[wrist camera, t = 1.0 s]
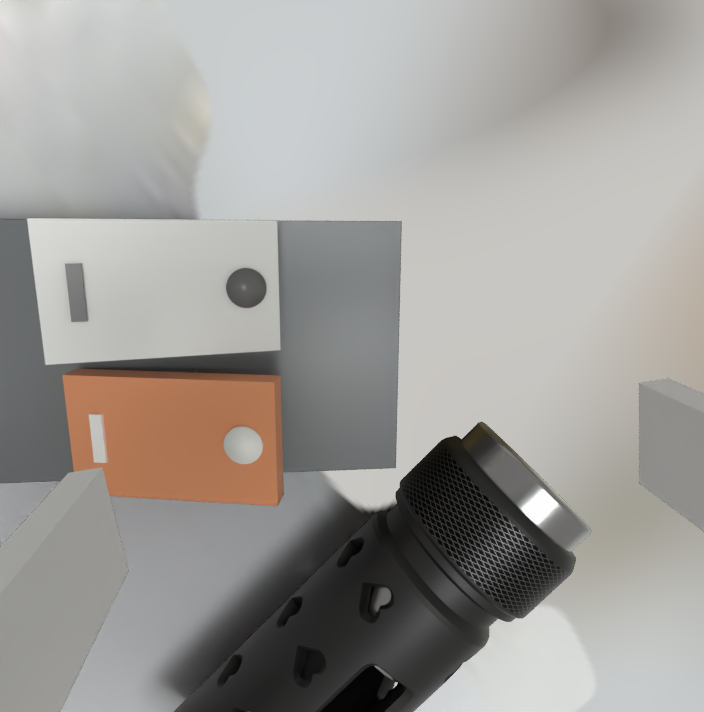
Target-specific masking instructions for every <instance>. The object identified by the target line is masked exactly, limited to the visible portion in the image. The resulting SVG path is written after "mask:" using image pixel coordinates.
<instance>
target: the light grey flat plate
mask: <svg viewBox="0 0 704 712" xmlns="http://www.w3.org/2000/svg"><path fill="white" fill-rule="evenodd" d="M27 223H28V231H29V239H30V247H31V254H32V262H33V270H34V278H35V286H36V294H37V302H38V310H39V318H40V326H41V333H42V341H43V349H44V357H45V365H52V364H68V363H84V362H100V361H116V360H132V359H148V358H164V357H180V356H195V355H211V354H227V353H243V352H259V351H275V350H281V348H280V309H279V270H278V232H277V220H184V219H61V218H27Z"/></svg>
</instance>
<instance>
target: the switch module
mask: <svg viewBox="0 0 704 712" xmlns="http://www.w3.org/2000/svg"><path fill="white" fill-rule="evenodd" d="M401 230H402V222H401V221H277V232H278V270H279V309H280V348H281V350H275V351H259V352H243V353H227V354H211V355H195V356H180V357H164V358H148V359H132V360H116V361H100V362H84V363H68V364H52V365H45V357H44V349H43V341H42V333H41V326H40V318H39V310H38V302H37V294H36V286H35V278H34V270H33V262H32V254H31V247H30V239H29V231H28V223H27V219H0V483H21V482H47V481H61V480H62V479H63V478H64V477H65V476H66V475H67V474H68V473H70V472H74V468H73V460H72V452H71V443H70V435H69V427H68V418H67V410H66V402H65V393H64V385H63V377H62V375H64V374H66V373H68V372H71V371H73V370H76V369H104V370H134V371H164V372H193V373H223V374H253V375H281V410H282V449H283V472H304V471H330V470H354V469H355V470H356V469H382V468H396V435H397V434H396V432H397V394H398V393H397V392H398V391H397V390H398V353H399V312H400V311H399V310H400V271H401V267H400V266H401Z"/></svg>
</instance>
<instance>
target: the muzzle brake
mask: <svg viewBox="0 0 704 712" xmlns="http://www.w3.org/2000/svg"><path fill="white" fill-rule="evenodd" d="M396 500H397V504H396V505H395V506H394V507H393V508H392V509H391V510H390V511H379V512H376V513H375V514H374V515H373V516H372V517H371V518H370V519H369V520H368V521H367V522H366V523H365V524H364V525H363V526H362V527H361V528H360V529H359V530H358V531H357V532H356V533H355V534H354V535H352V536H351V537H350V538H349V539H348V540H347V541H346V542H345V543H344V544H343V545H342V546H341V547H340V548H339V549H338V550H337V551H336V552H335V553H334V554H333V555H332V556H331V557H330V558H329V559H328V560H327V561H326V562H325V563H324V564H323V565H322V566H321V567H320V568H319V569H318V570H317V571H316V572H315V573H314V574H313V575H312V576H311V577H310V578H309V579H308V580H307V581H306V582H305V583H304V584H303V585H302V586H301V587H300V588H299V589H298V590H297V591H296V592H295V593H294V594H293V595H292V596H291V597H290V598H289V599H288V600H287V601H286V602H285V603H284V604H282V605H281V606H280V607H279V608H278V609H277V610H276V611H275V612H274V613H273V614H272V615H271V616H270V617H269V618H268V619H267V620H266V621H265V622H264V623H263V624H262V625H261V626H260V627H259V628H258V629H257V630H256V631H255V632H254V633H253V634H252V635H251V636H250V637H249V638H248V639H247V640H246V641H245V642H244V643H243V644H242V645H241V646H240V647H239V648H238V649H237V650H236V651H235V652H234V653H233V654H232V655H231V656H230V657H229V658H228V659H227V660H226V661H225V662H224V663H223V664H222V665H221V666H220V667H219V668H218V669H217V670H216V671H215V672H214V673H212V674H211V675H210V676H209V677H208V678H207V679H206V680H205V681H204V682H203V683H202V684H201V685H200V686H199V687H198V688H197V689H196V690H195V691H194V692H193V693H192V694H191V695H190V696H189V697H188V698H187V699H186V700H185V701H184V702H183V703H182V704H181V705H180V706H179V707H178V708H177V709H176V710H175V711H174V712H413V711H415V710H416V709H417V708H418V707H419V706H420V705H421V704H422V703H423V702H424V701H425V700H426V699H428V698H429V697H430V696H431V695H432V694H433V693H434V692H435V691H436V690H437V689H438V688H439V687H440V686H442V685H443V684H444V683H445V682H446V681H447V680H448V679H449V678H450V677H451V676H452V675H453V674H454V673H455V672H456V671H457V670H458V669H459V667H460V666H461V665H462V663H463V662H466V661H467V660H469V659H470V658H471V657H472V656H474V655H475V654H476V653H477V652H478V651H479V650H480V649H481V648H483V647H484V646H485V644H486V643H487V641H488V639H489V626H490V625H491V624H493V623H494V622H495V621H496V620H497V619H501V620H503V621H506V622H511V621H512V620H514V619H515V618H524V617H525V616H526V615H527V614H528V613H529V612H531V611H532V610H533V609H534V608H535V607H536V606H537V605H538V604H539V603H540V602H541V601H542V600H544V599H545V598H546V597H547V596H548V595H549V594H550V593H551V592H552V591H553V590H554V589H555V588H556V587H558V586H559V585H560V584H561V583H562V582H563V581H564V580H565V579H566V578H567V577H568V576H570V575H571V573H572V572H573V569H574V565H575V561H576V557H575V556H574V554H573V553H572V551H573V550H574V549H575V548H576V547H577V546H578V545H579V544H580V543H581V542H583V540H584V539H586V538H587V537H588V536H589V535H590V534H591V532H592V530H591V528H590V526H589V525H588V524H587V523H586V522H585V521H584V520H583V519H582V518H581V517H580V516H579V515H578V514H577V513H576V512H575V511H574V510H573V509H572V508H571V506H570V505H568V504H567V502H566V501H564V499H563V498H562V497H560V495H559V494H557V493H556V492H555V491H554V490H553V489H552V488H551V487H550V486H549V485H548V484H547V483H546V482H545V481H544V480H543V479H542V478H541V477H540V476H539V475H538V474H537V473H536V472H535V471H534V470H533V469H532V468H531V467H530V466H529V465H528V464H527V463H526V462H525V461H524V460H523V459H522V458H521V457H520V456H519V455H518V454H517V453H516V452H515V451H514V450H513V449H512V448H511V447H510V446H508V445H507V444H506V443H505V442H504V441H503V440H502V439H501V438H500V437H499V436H498V435H497V434H496V433H495V432H494V431H493V430H492V429H491V428H489V427H488V426H487V425H486V424H485V423H483V422H480V423H478V424H477V425H476V426H475V427H474V428H473V429H472V430H471V431H470V432H469V433H468V434H467V435H466V436H465V437H464V438H463V439H460V438H459V437H457V436H453V437H449V438H445V439H443V440H441V442H440V443H438V444H437V446H435V447H434V448H433V449H432V450H431V451H430V452H429V453H428V454H427V455H426V457H424V458H423V459H422V460H421V461H420V462H419V463H418V464H417V465H416V466H415V467H414V468H413V469H412V470H411V471H410V472H409V473H408V474H407V475H406V476H405V477H404V478H403V479H402V480H401V482H400V488H399V489H398V491H396ZM395 682H398V684H397V686H396V687H395V688H393V686H394V683H395Z"/></svg>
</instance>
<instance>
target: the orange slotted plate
mask: <svg viewBox="0 0 704 712" xmlns="http://www.w3.org/2000/svg"><path fill="white" fill-rule="evenodd" d="M62 377H63V385H64V393H65V402H66V410H67V418H68V427H69V435H70V443H71V452H72V460H73V468H74V472H76V471H83V470H89V469H95V468H103V472H104V476H105V480H106V484H107V488H108V492H109V496H118V497H135V498H151V499H168V500H185V501H202V502H219V503H236V504H252V505H269V506H278V505H279V503H280V500H281V498H282V496H283V494H284V487H283V449H282V410H281V375H253V374H223V373H193V372H164V371H134V370H104V369H76V370H73V371H71V372H68V373H66V374H64V375H62Z"/></svg>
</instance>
